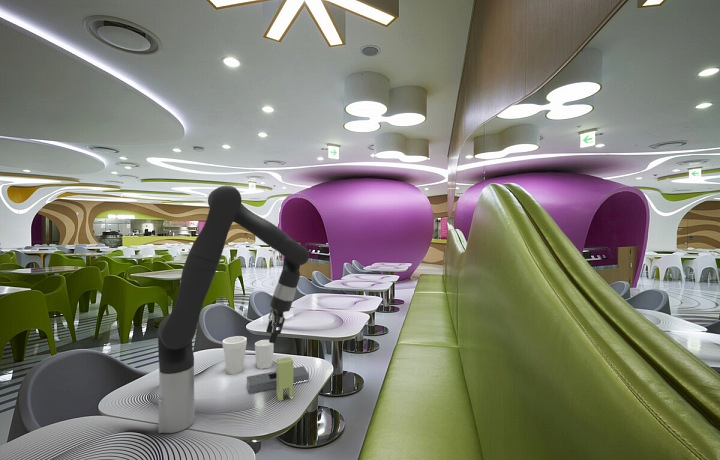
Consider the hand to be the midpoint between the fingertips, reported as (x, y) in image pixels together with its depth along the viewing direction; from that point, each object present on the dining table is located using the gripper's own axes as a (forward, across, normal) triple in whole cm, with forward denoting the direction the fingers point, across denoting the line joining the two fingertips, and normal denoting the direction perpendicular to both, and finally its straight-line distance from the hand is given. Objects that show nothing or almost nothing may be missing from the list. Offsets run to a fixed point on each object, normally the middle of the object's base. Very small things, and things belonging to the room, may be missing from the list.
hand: (270, 337), depth 123 cm
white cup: (+21, -19, +7) cm, 29 cm away
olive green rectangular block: (+16, +12, +9) cm, 21 cm away
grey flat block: (+17, 0, +8) cm, 19 cm away
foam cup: (+24, -18, -5) cm, 31 cm away
